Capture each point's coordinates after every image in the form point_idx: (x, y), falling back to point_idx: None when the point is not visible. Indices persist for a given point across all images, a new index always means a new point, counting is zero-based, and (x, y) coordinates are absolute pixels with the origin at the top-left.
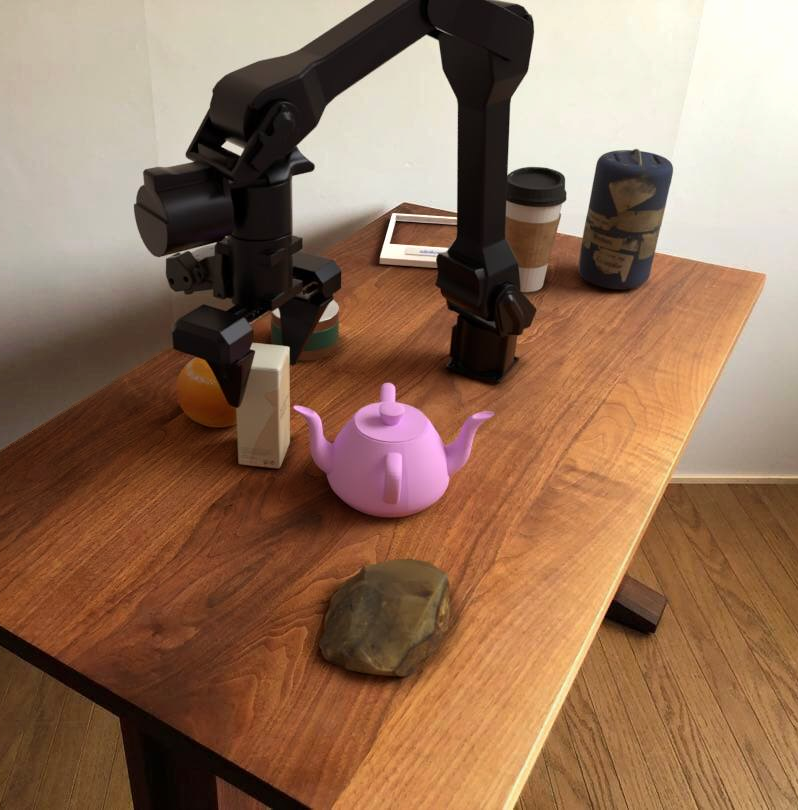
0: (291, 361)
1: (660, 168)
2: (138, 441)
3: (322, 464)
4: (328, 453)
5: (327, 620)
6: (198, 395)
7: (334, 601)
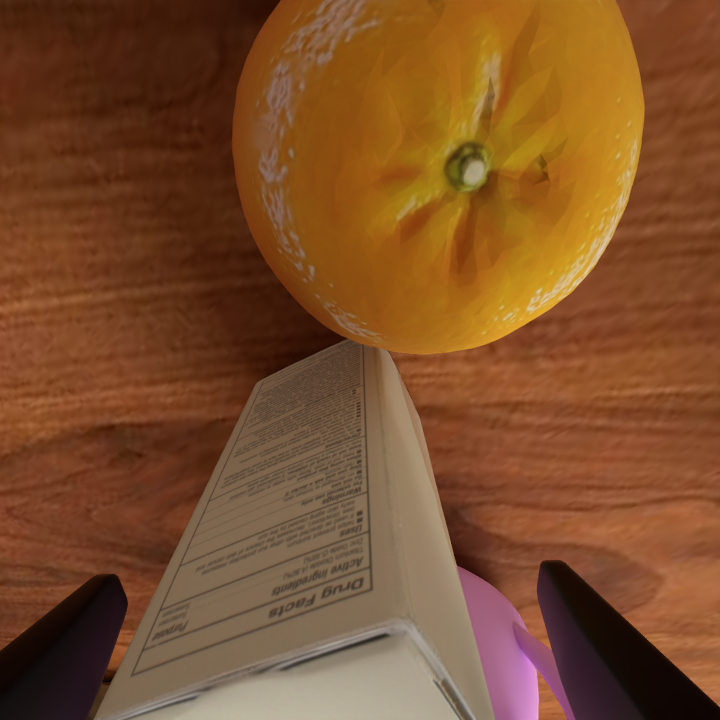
0: (545, 602)
1: None
2: (109, 26)
3: None
4: None
5: None
6: (246, 217)
7: (94, 702)
